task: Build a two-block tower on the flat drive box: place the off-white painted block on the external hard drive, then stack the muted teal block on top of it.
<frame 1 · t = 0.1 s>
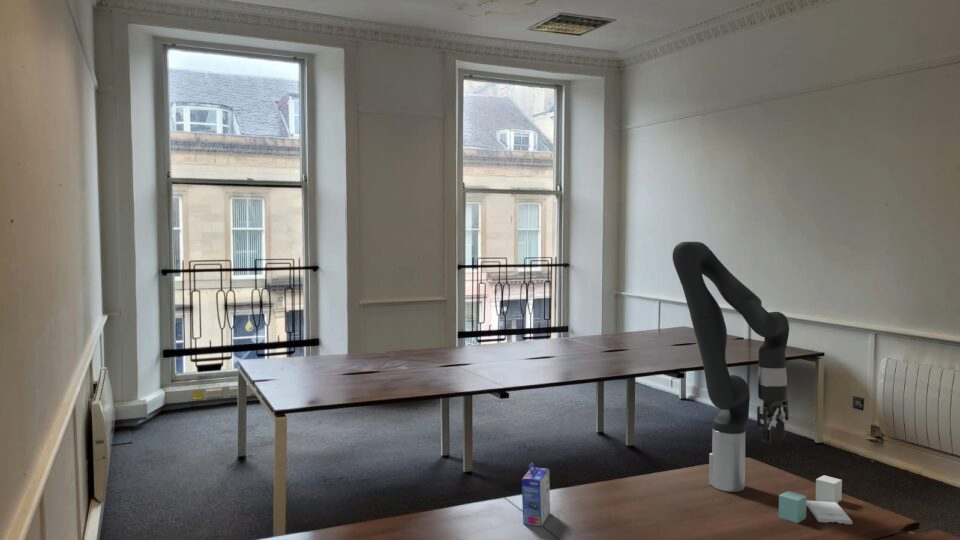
hand: (773, 439, 192), 17 cm above the table, tool pointing down, fingers open, 8 cm apart
white block: (828, 500, 192), on the table
ink cartridge box: (536, 519, 180), on the table
external hard drive: (827, 516, 183), on the table
teal block: (792, 517, 180), on the table
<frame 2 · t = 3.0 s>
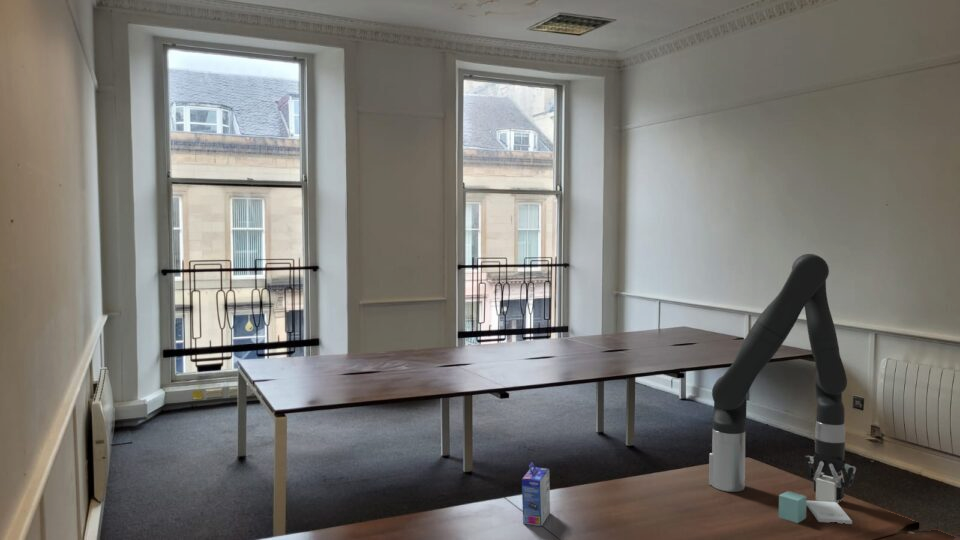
hand: (828, 496, 192), 1 cm above the table, tool pointing down, fingers closed on white block, 5 cm apart
white block: (828, 500, 192), on the table, touching gripper
everything else where it was.
when the fingers open (4 cm above the table, at t = 8.2 s): white block drops 2 cm, resting on external hard drive.
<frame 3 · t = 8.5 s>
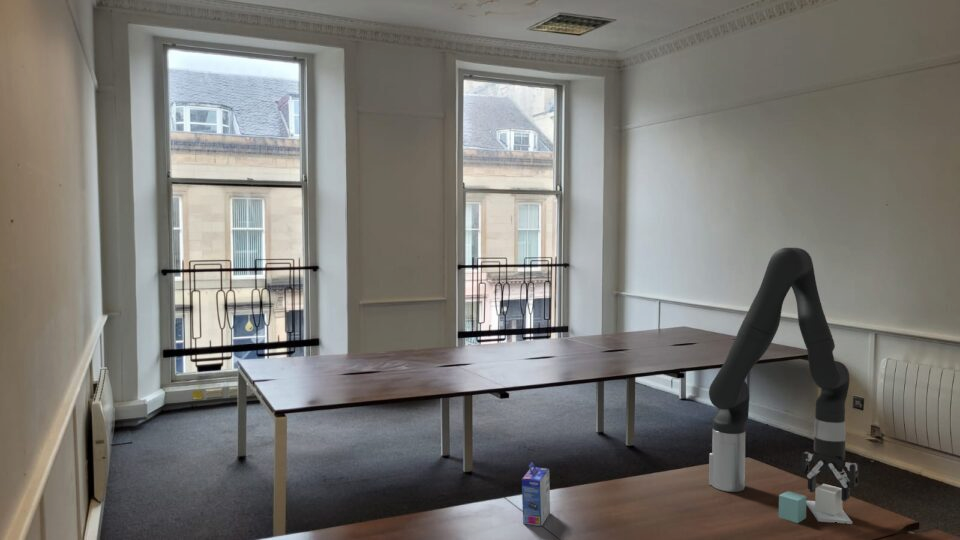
hand: (828, 495, 182), 5 cm above the table, tool pointing down, fingers open, 8 cm apart
white block: (828, 510, 183), point 1 cm above the table, touching external hard drive
external hard drive: (828, 516, 183), on the table, touching white block
everything else where it was.
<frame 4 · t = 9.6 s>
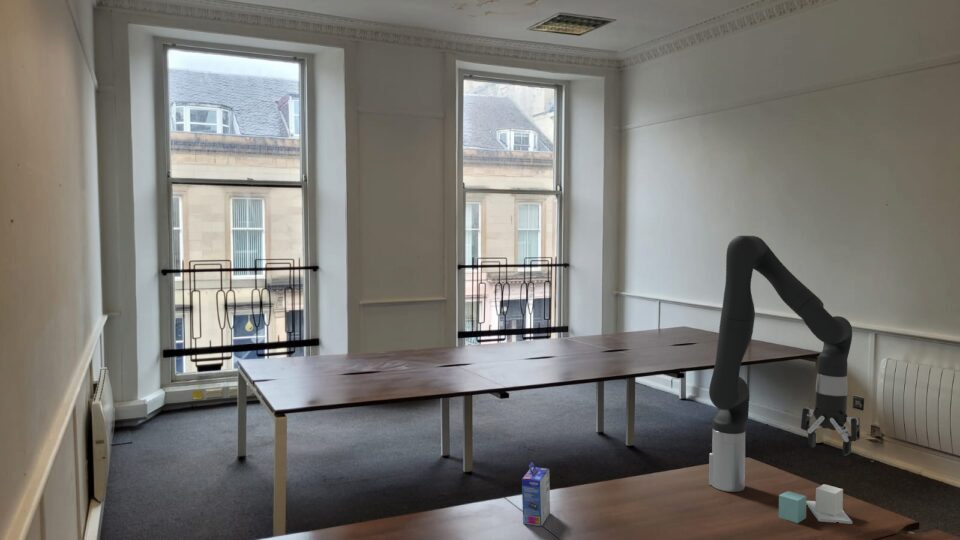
hand: (828, 450, 182), 17 cm above the table, tool pointing down, fingers open, 8 cm apart
nothing on the table moved.
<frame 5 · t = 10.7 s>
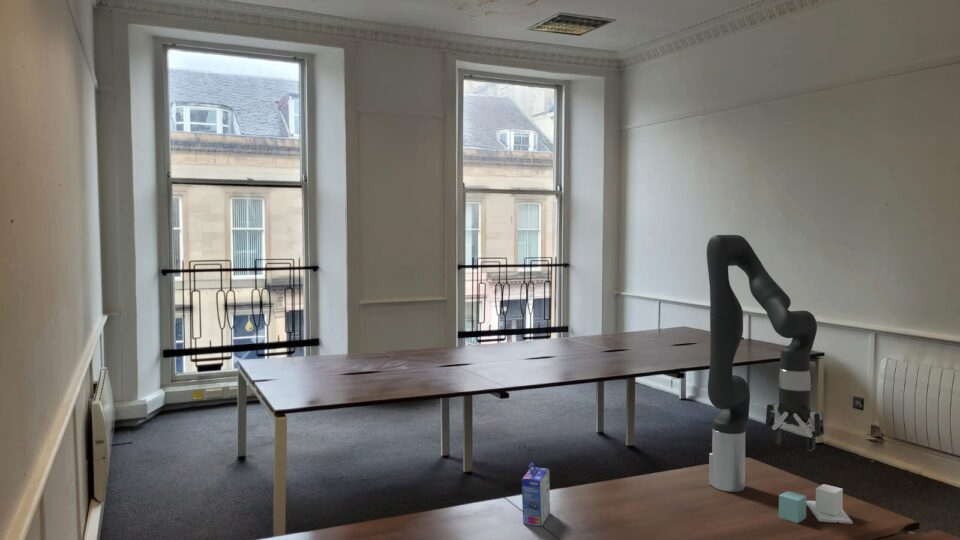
hand: (793, 447, 179), 19 cm above the table, tool pointing down, fingers open, 8 cm apart
nothing on the table moved.
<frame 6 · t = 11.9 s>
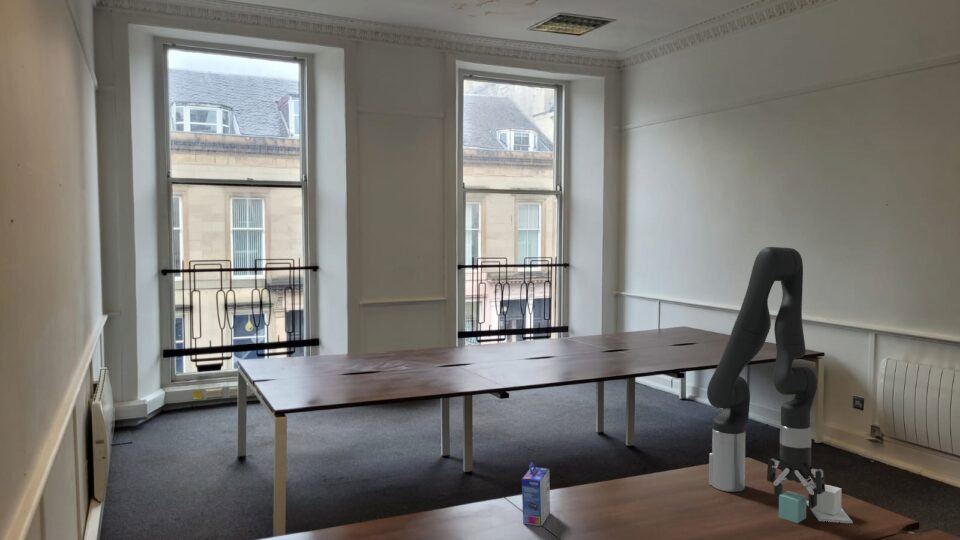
hand: (795, 503, 179), 4 cm above the table, tool pointing down, fingers open, 8 cm apart
white block: (827, 510, 183), point 1 cm above the table
external hard drive: (828, 516, 183), on the table
everything else where it was.
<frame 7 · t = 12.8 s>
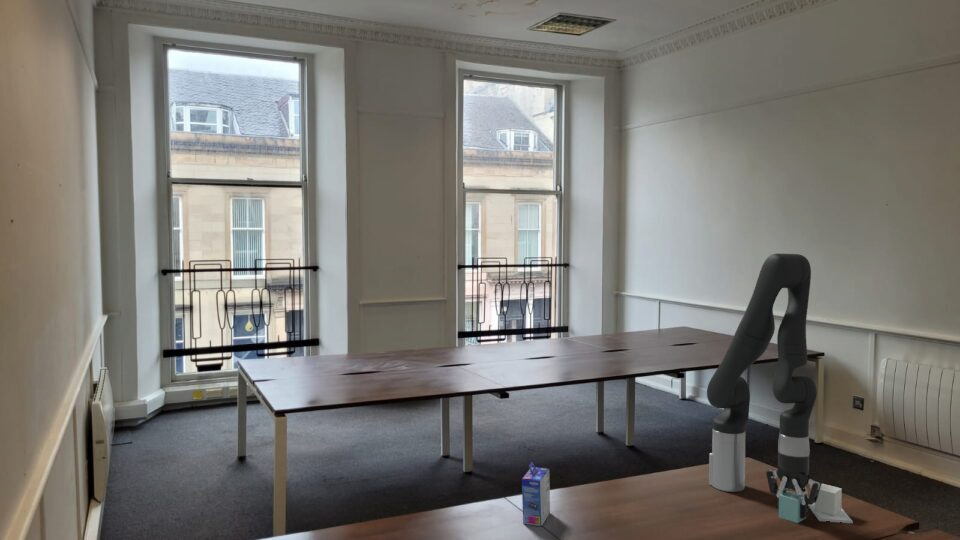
hand: (792, 514, 180), 1 cm above the table, tool pointing down, fingers closed on teal block, 5 cm apart
teal block: (792, 517, 180), on the table, touching gripper
everything else where it was.
when the fingers open (10 cm above the table, at t = 18.4 s): teal block drops 2 cm, resting on white block.
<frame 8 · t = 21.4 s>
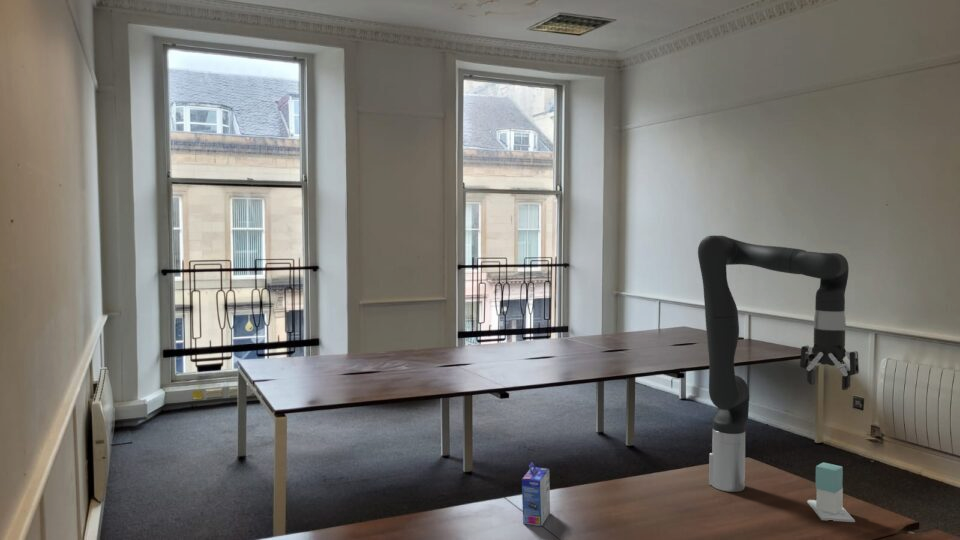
hand: (828, 387, 183), 34 cm above the table, tool pointing down, fingers open, 8 cm apart
white block: (829, 509, 184), point 1 cm above the table, touching external hard drive, teal block
external hard drive: (830, 515, 184), on the table, touching white block
teal block: (828, 488, 183), point 7 cm above the table, touching white block
everything else where it was.
at the end: white block inside the target area on the external hard drive (0.3 cm from its centre), point 1.8 cm above the external hard drive's base; teal block 1.1 cm off-centre on the white block, point 6.0 cm above the white block's base; teal block tilted 0° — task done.
